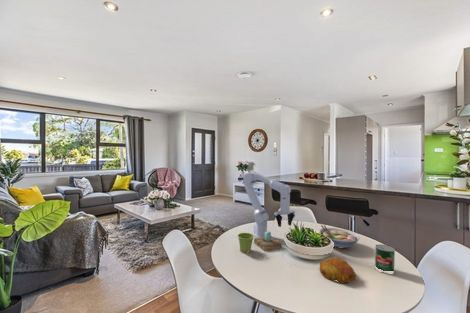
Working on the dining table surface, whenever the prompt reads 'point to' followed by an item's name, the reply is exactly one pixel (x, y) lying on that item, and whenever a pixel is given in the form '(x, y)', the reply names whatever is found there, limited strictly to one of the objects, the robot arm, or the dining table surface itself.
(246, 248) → the plant pot
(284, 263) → the dining table surface
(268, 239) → the peg
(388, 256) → the canned tomato
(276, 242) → the socket block
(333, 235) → the ramen bowl
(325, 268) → the golden brown oval lump
